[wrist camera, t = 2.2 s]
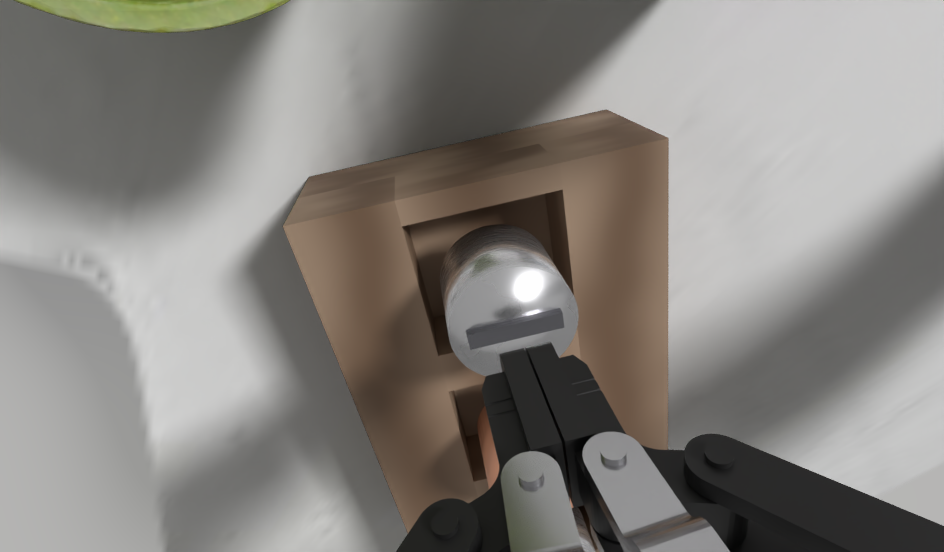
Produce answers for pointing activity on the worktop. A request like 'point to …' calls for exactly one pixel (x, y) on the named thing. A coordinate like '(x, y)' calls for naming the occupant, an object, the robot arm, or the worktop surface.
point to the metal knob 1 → (503, 297)
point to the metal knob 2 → (582, 531)
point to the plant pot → (156, 13)
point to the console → (420, 298)
